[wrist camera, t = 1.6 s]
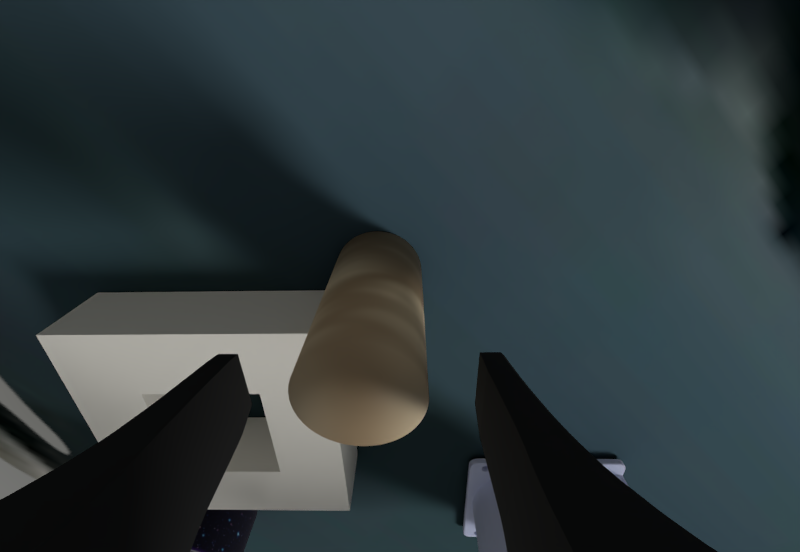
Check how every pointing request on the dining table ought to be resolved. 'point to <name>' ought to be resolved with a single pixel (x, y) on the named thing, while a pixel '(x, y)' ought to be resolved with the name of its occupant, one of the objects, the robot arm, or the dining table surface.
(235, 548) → the beverage can
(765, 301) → the dining table surface
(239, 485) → the socket block
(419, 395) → the beech peg
